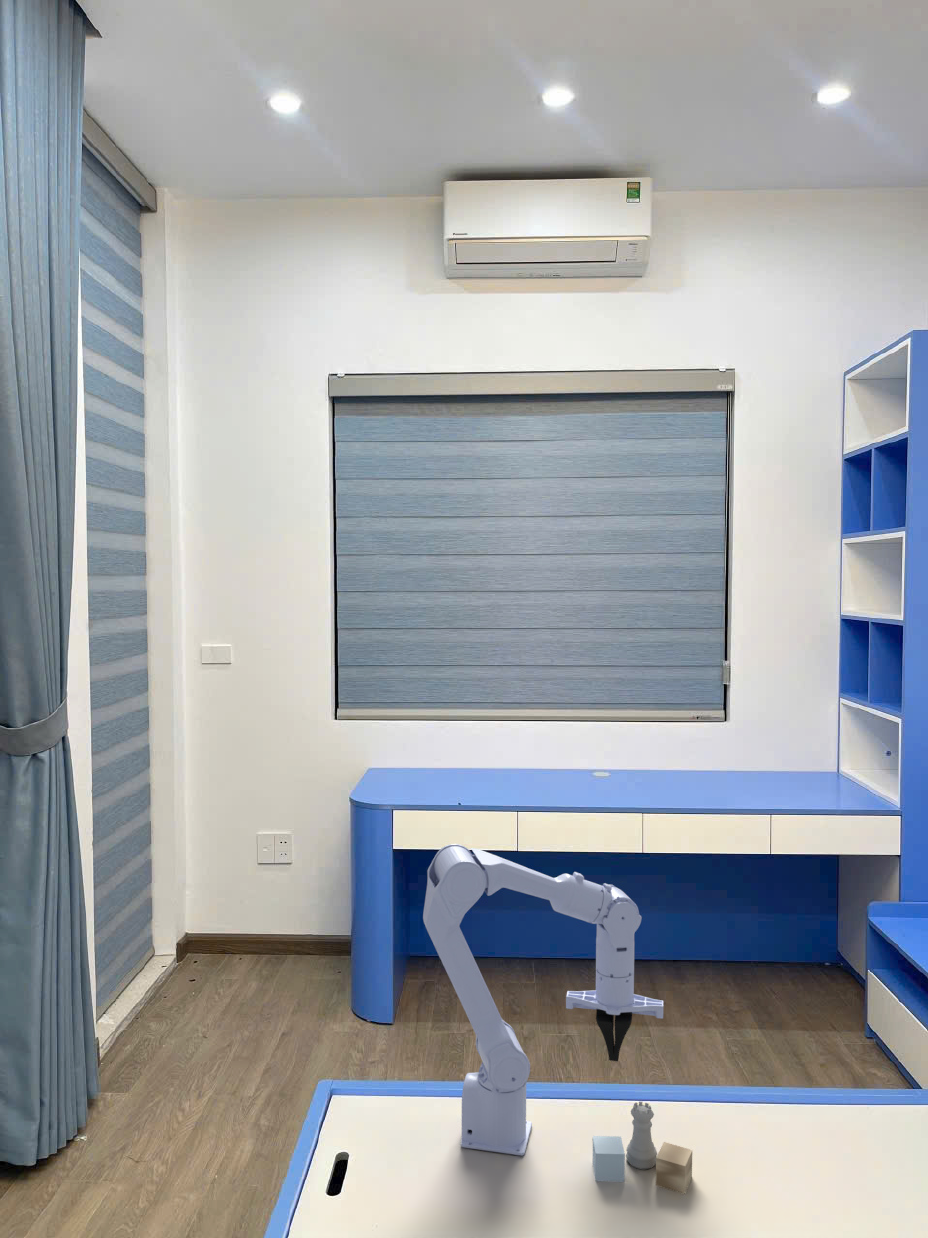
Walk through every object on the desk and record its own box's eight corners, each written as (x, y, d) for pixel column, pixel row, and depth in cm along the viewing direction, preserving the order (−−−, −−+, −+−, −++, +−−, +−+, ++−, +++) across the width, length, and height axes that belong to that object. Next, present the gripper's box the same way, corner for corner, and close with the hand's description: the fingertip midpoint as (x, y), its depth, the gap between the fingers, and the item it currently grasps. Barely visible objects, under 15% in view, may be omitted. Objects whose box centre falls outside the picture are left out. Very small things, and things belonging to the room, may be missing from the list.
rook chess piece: (657, 1173, 129) (658, 1117, 129) (625, 1169, 130) (626, 1113, 130) (657, 1153, 133) (658, 1099, 133) (626, 1149, 134) (626, 1096, 134)
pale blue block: (595, 1181, 127) (595, 1153, 127) (592, 1163, 131) (592, 1136, 131) (624, 1182, 127) (624, 1154, 127) (620, 1164, 131) (621, 1136, 131)
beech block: (655, 1186, 126) (656, 1157, 126) (663, 1169, 130) (663, 1142, 130) (684, 1195, 125) (685, 1166, 124) (691, 1178, 128) (692, 1150, 128)
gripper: (564, 976, 137) (563, 1065, 138) (663, 986, 134) (662, 1077, 134) (569, 957, 144) (568, 1042, 145) (664, 966, 141) (662, 1053, 141)
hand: (613, 1057), depth 140 cm, fingers closed
